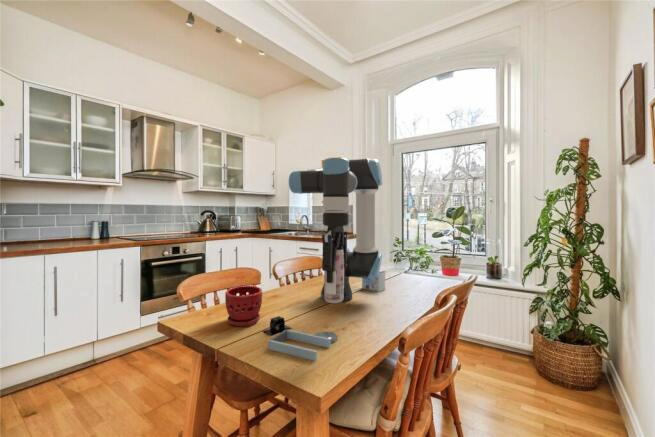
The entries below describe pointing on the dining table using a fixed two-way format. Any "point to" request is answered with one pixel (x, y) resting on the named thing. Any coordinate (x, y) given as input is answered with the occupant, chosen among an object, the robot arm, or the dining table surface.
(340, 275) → the beverage can
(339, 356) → the dining table surface
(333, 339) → the grey round disc
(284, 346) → the channel
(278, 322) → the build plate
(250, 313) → the plant pot
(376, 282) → the light bulb box
